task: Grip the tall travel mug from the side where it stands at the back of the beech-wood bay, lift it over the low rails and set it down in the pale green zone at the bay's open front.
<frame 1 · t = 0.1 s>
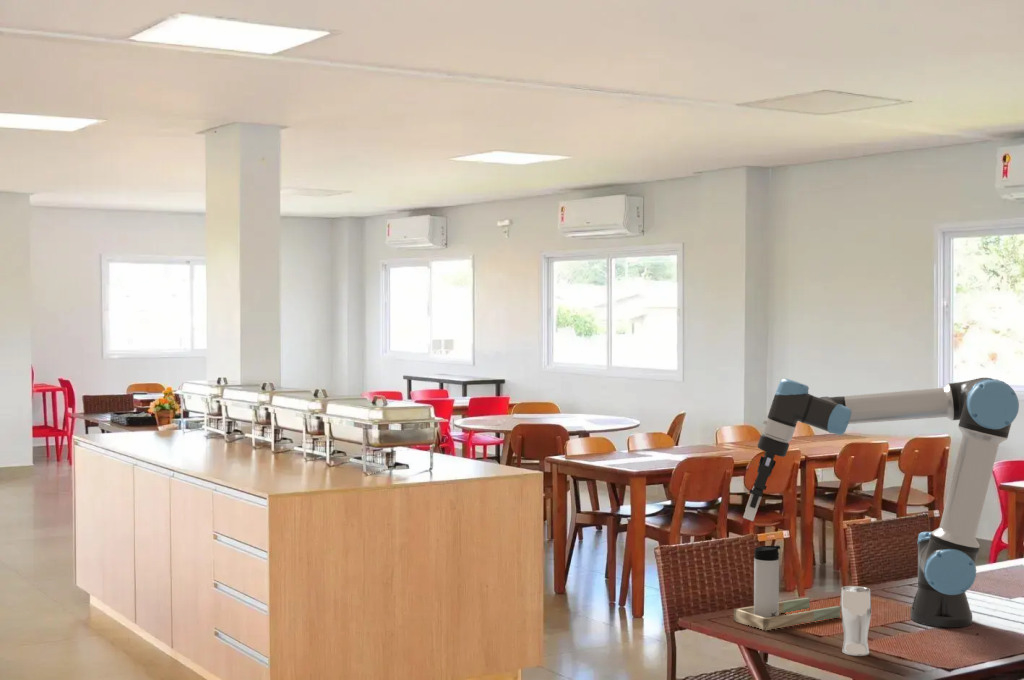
hand: (749, 515, 301), 28 cm above the table, tool tilted 20°, fingers open, 13 cm apart
beer glass: (855, 653, 273), on the table
bay: (787, 619, 303), on the table
travel mug: (766, 623, 300), resting in bay
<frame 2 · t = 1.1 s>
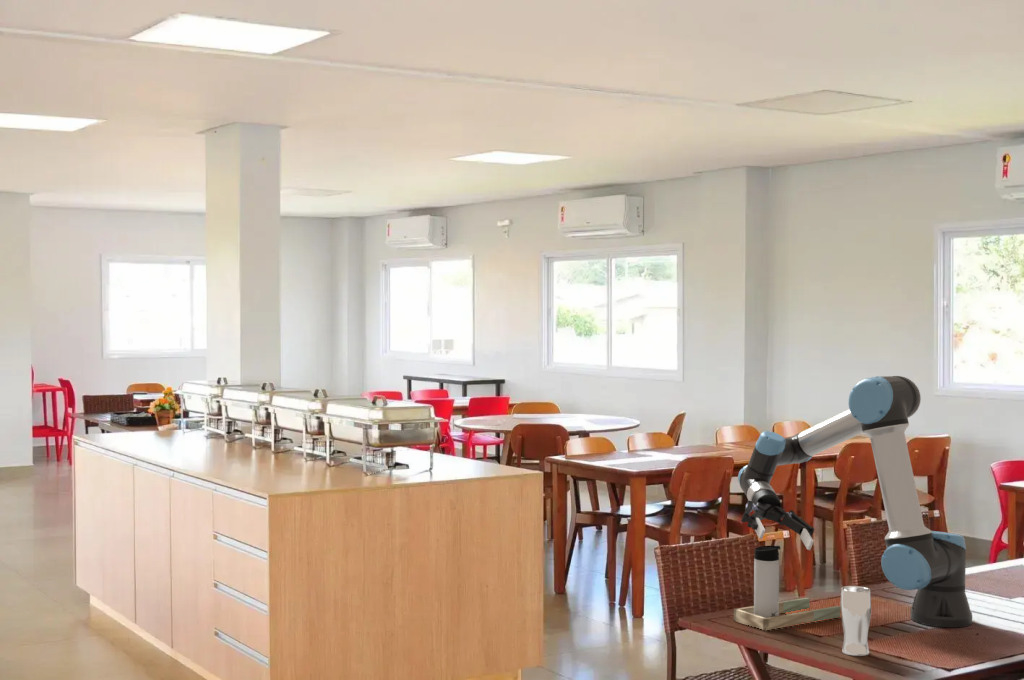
hand: (786, 540, 301), 21 cm above the table, tool tilted 70°, fingers open, 13 cm apart
nothing on the table moved.
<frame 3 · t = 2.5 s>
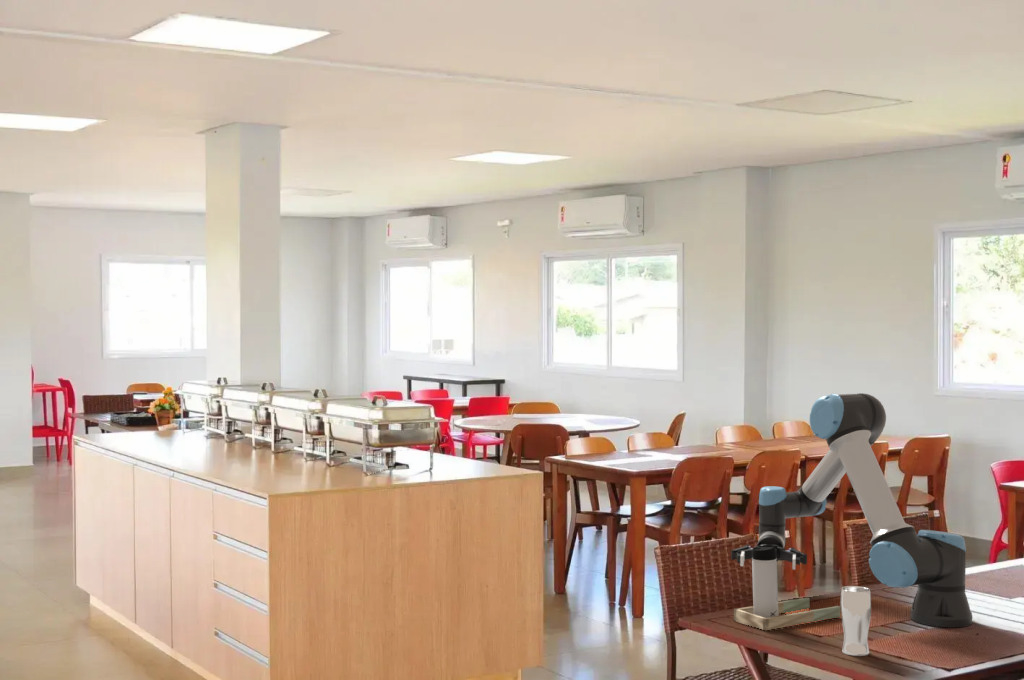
hand: (767, 562, 309), 14 cm above the table, tool horizontal, fingers open, 13 cm apart
nothing on the table moved.
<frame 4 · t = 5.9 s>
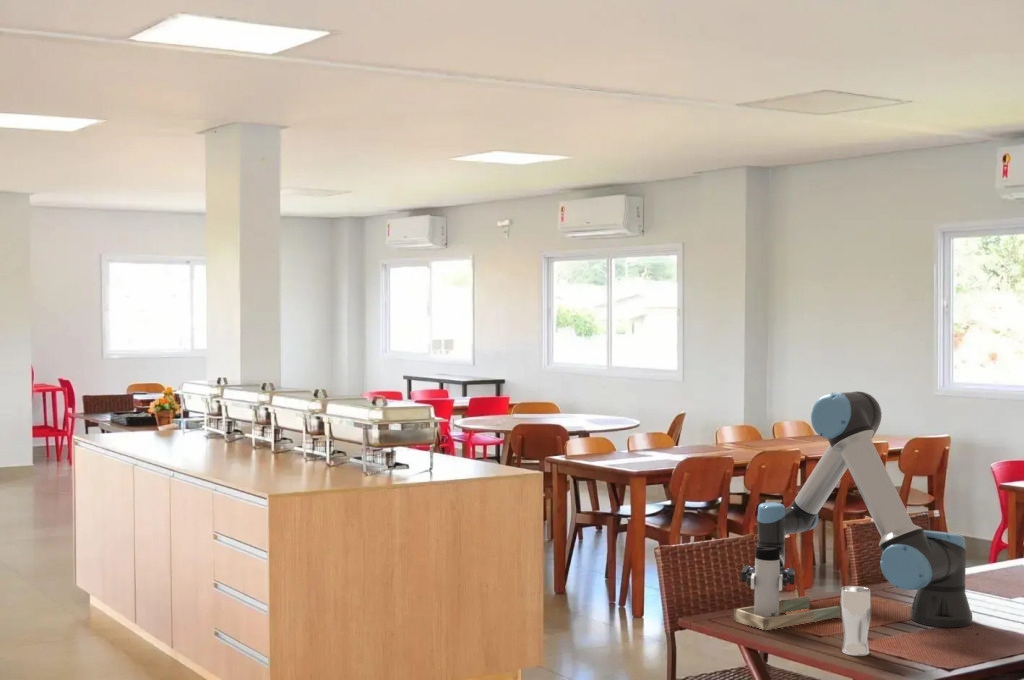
hand: (766, 584, 295), 11 cm above the table, tool horizontal, fingers closed on travel mug, 6 cm apart
travel mug: (766, 623, 300), resting in bay, touching gripper
everything else where it was.
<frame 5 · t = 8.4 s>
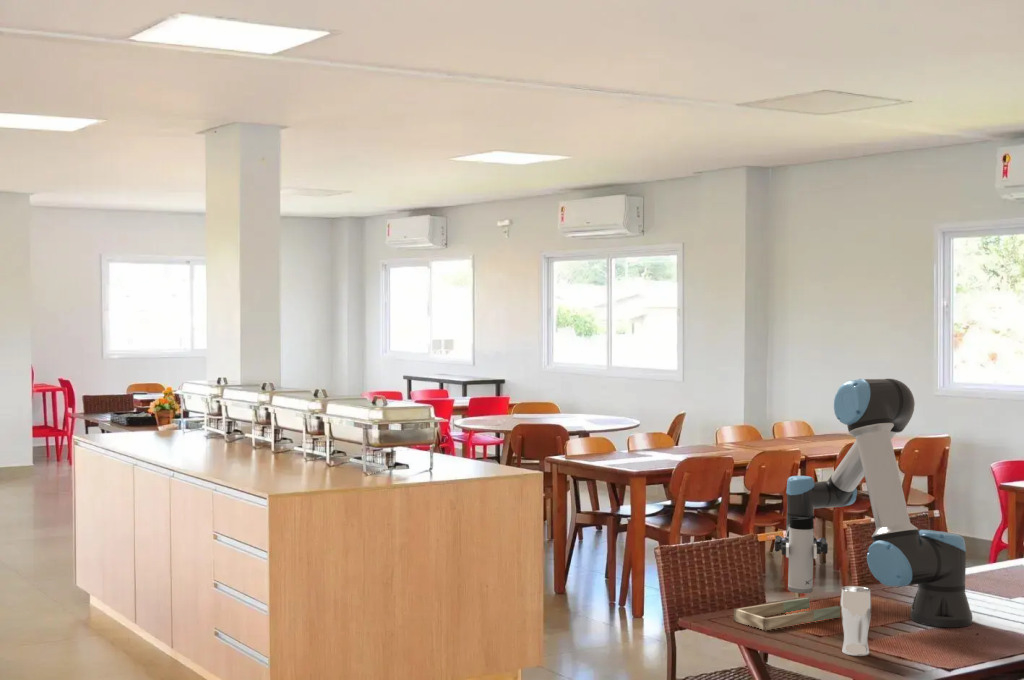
hand: (801, 553, 301), 18 cm above the table, tool horizontal, fingers closed on travel mug, 6 cm apart
travel mug: (800, 591, 306), point 7 cm above the table, touching gripper
everything else where it was.
when the fingers open (12 cm above the table, at t = 10.5 s): travel mug drops 1 cm, resting on bay.
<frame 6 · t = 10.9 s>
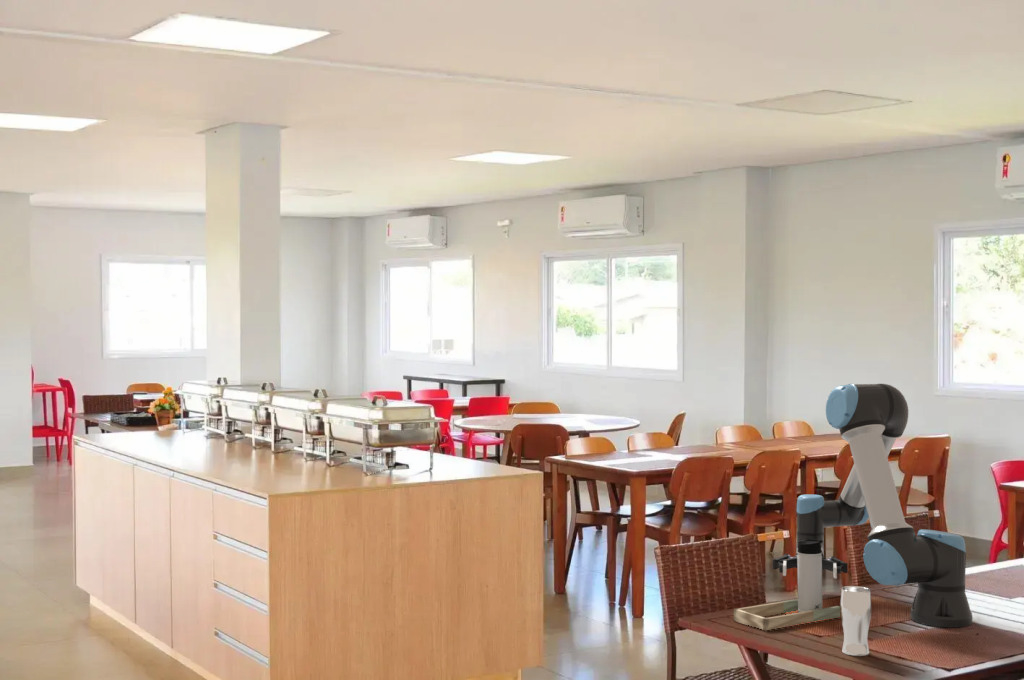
hand: (809, 572, 304), 12 cm above the table, tool horizontal, fingers open, 12 cm apart
travel mug: (810, 615, 307), resting on bay
everything else where it was.
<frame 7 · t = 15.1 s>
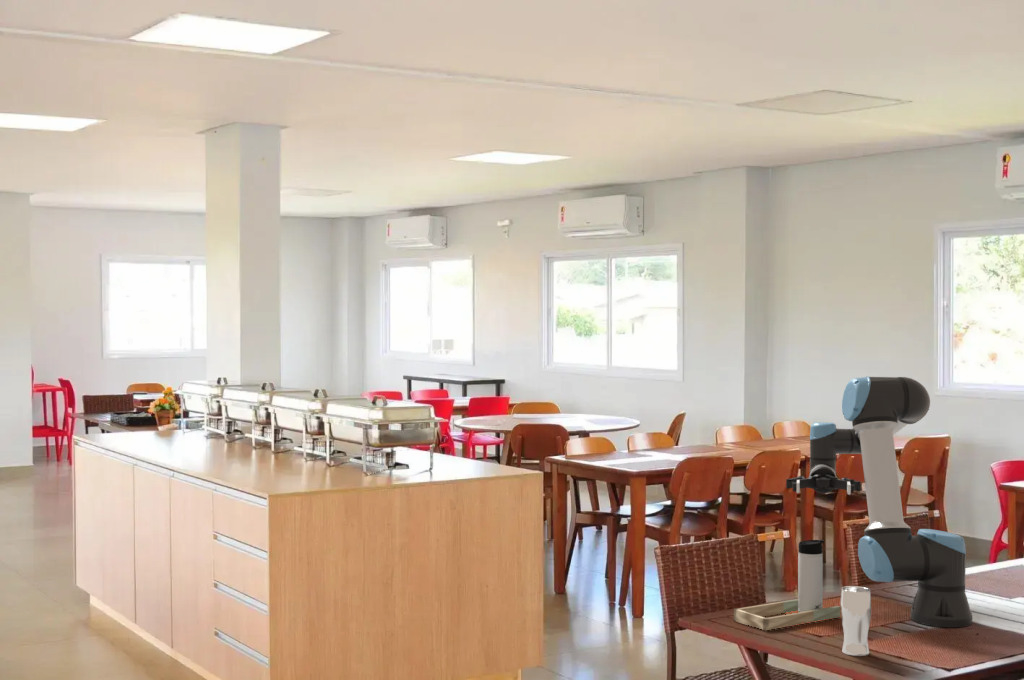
hand: (823, 488, 319), 32 cm above the table, tool horizontal, fingers open, 13 cm apart
nothing on the table moved.
at the end: travel mug inside the target area (0.6 cm from its centre), resting on bay; travel mug tilted 0°; the gripper is holding nothing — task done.
